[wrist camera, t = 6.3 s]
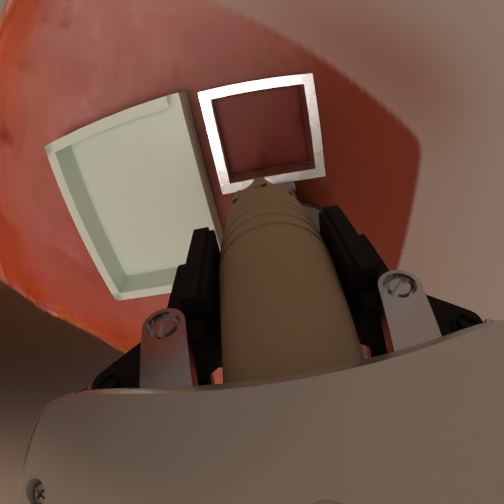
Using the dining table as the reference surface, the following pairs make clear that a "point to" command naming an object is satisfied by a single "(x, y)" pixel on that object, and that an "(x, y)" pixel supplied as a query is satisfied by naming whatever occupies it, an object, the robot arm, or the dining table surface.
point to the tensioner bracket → (275, 174)
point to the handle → (279, 291)
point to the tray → (137, 193)
